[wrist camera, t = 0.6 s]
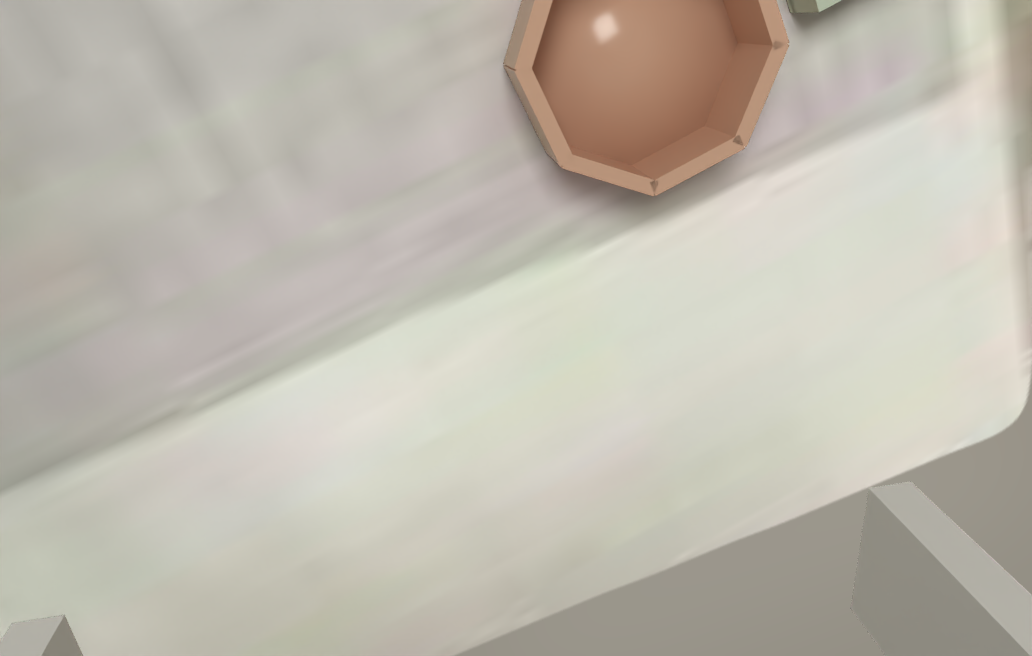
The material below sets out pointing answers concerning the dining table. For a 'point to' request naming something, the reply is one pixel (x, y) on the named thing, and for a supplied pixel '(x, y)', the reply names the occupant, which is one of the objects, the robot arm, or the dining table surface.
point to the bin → (644, 83)
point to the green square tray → (809, 5)
